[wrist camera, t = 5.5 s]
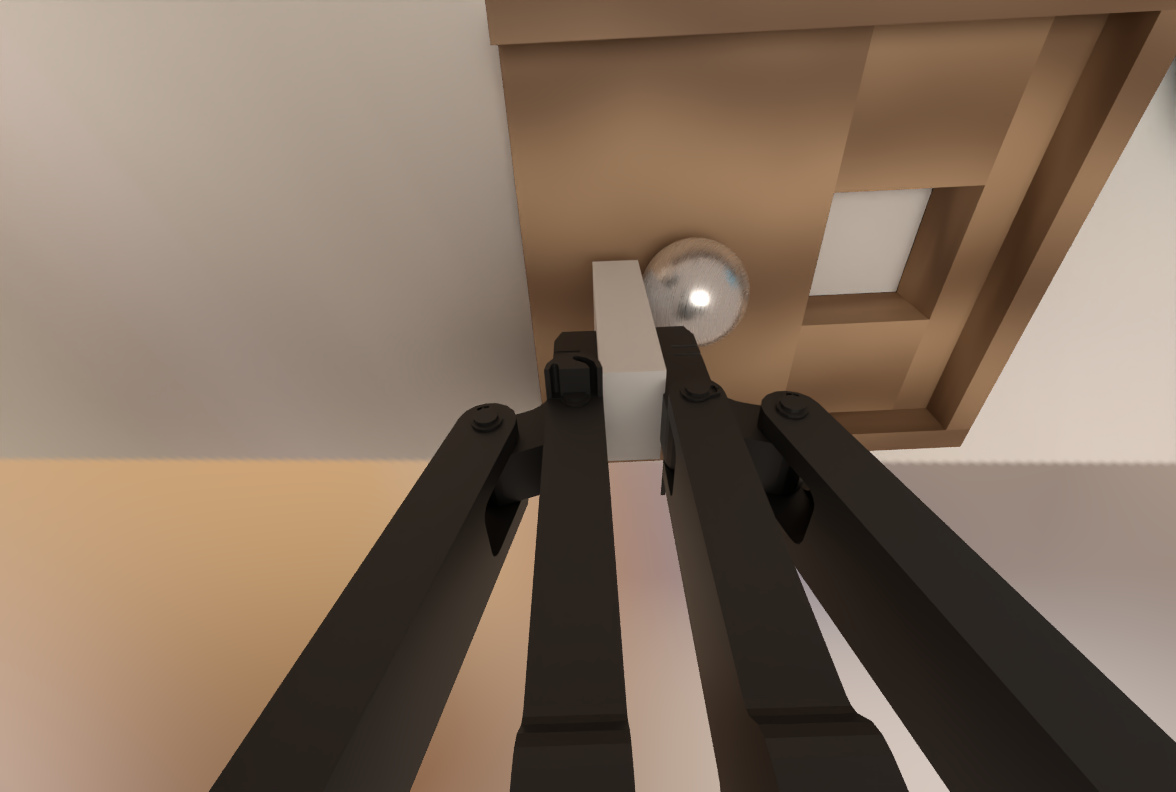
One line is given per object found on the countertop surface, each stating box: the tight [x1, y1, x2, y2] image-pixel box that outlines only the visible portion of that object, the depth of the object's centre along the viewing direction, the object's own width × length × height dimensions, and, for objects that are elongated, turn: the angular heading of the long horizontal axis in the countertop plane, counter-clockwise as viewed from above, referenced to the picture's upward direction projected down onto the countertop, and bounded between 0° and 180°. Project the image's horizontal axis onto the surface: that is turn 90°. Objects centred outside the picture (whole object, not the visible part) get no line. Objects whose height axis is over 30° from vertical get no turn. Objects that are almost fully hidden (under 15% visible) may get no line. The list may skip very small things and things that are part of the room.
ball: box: [642, 238, 750, 347], centre depth 17 cm, size 4×4×4 cm
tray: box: [485, 0, 1176, 463], centre depth 18 cm, size 16×18×4 cm
